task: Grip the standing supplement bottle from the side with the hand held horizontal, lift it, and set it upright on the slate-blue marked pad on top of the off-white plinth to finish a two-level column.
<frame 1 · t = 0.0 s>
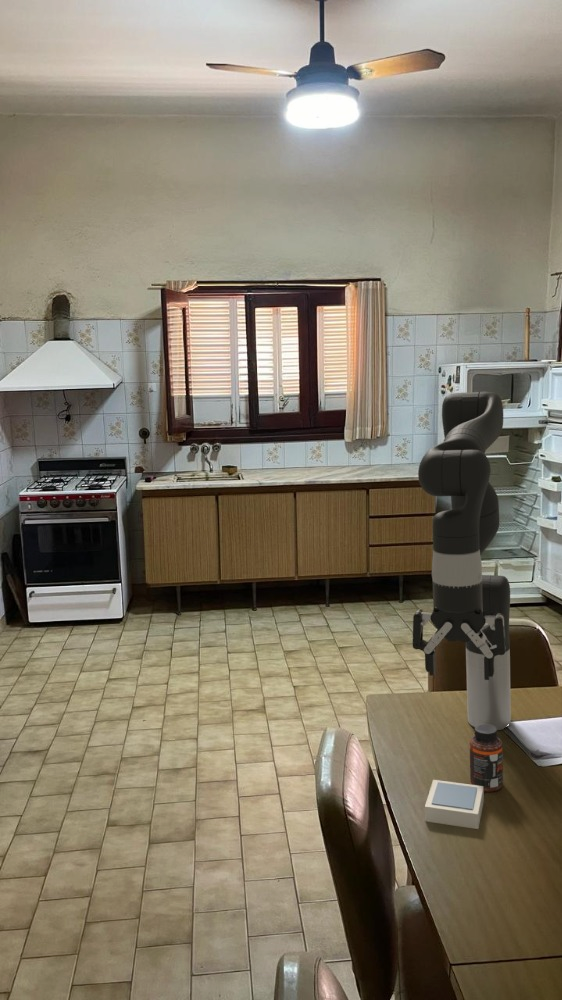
hand: (459, 676, 119), 29 cm above the table, tool pointing down, fingers open, 8 cm apart
plinth: (455, 810, 133), on the table
supplement bottle: (486, 785, 141), on the table
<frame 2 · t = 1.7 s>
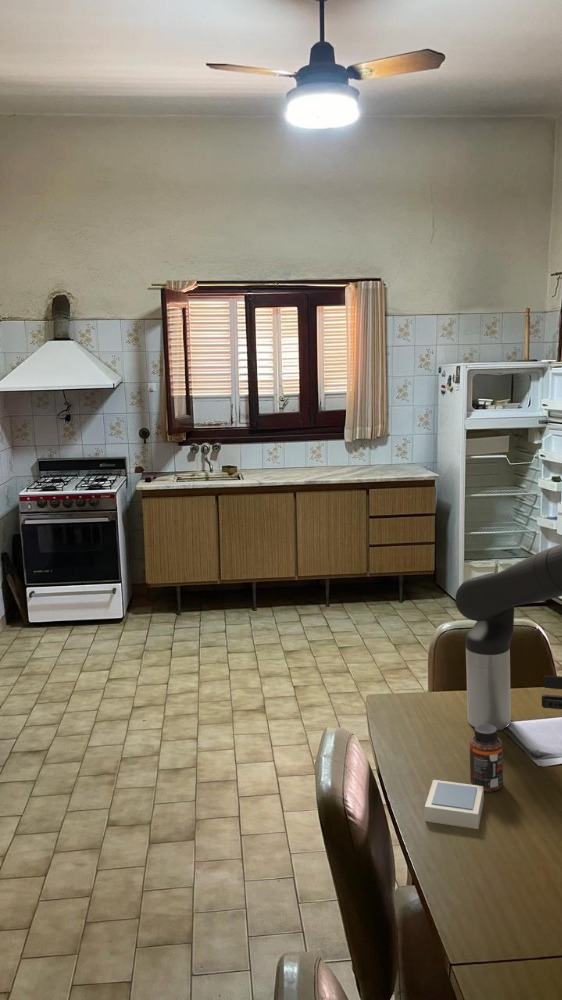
hand: (542, 690, 134), 20 cm above the table, tool horizontal, fingers open, 8 cm apart
nothing on the table moved.
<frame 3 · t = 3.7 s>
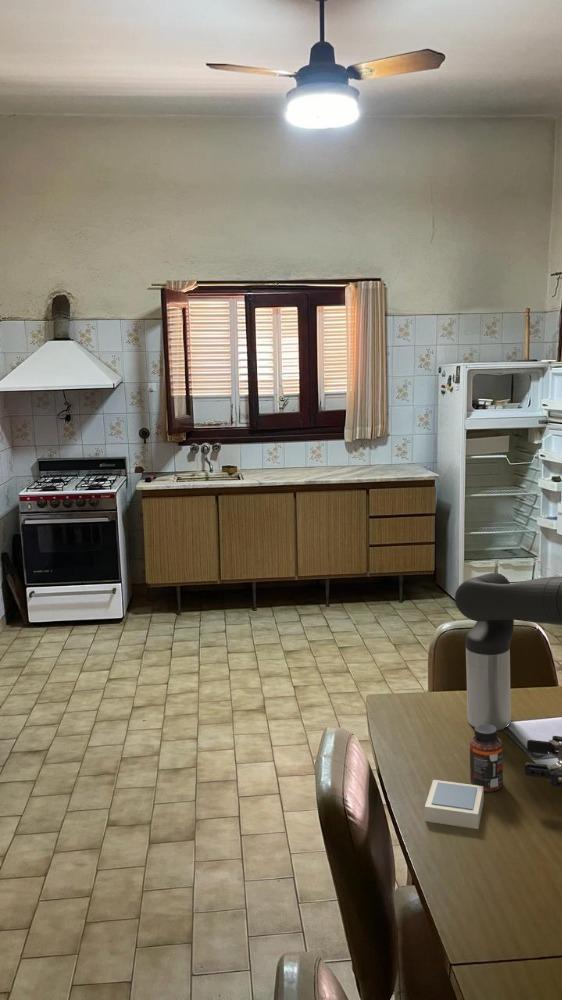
hand: (526, 756, 137), 6 cm above the table, tool horizontal, fingers open, 8 cm apart
nothing on the table moved.
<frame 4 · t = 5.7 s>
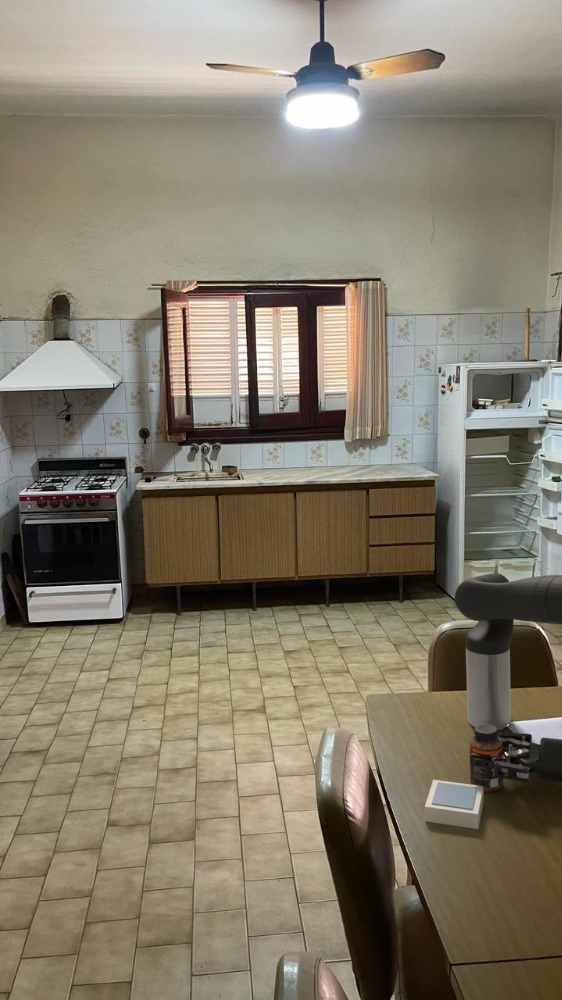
hand: (472, 750, 141), 7 cm above the table, tool horizontal, fingers closed on supplement bottle, 6 cm apart
supplement bottle: (486, 785, 141), on the table, touching gripper
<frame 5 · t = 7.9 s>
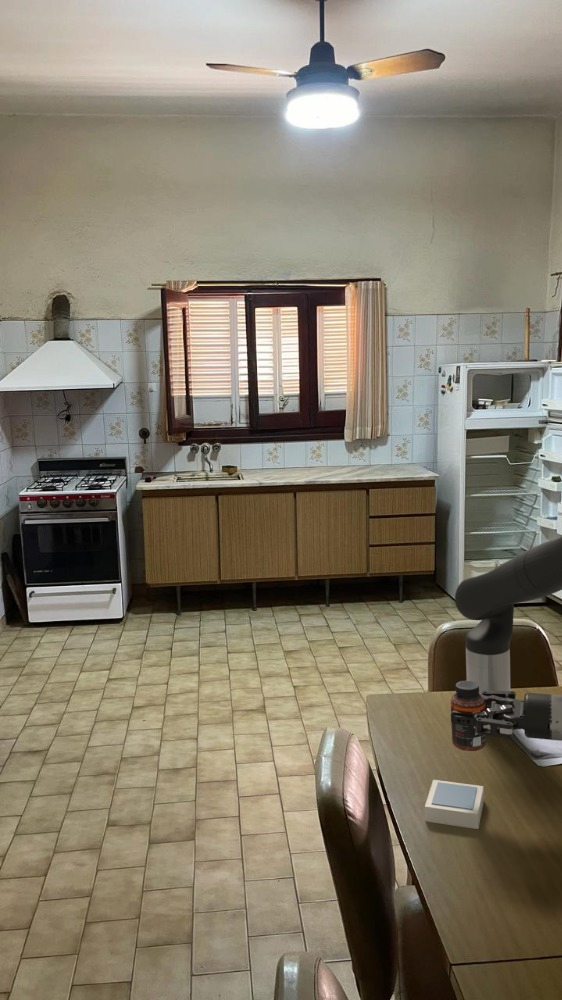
hand: (453, 709, 134), 18 cm above the table, tool horizontal, fingers closed on supplement bottle, 6 cm apart
supplement bottle: (469, 745, 134), point 11 cm above the table, touching gripper
when the fingers open (11 cm above the table, at t = 10.0 s): supplement bottle drops 1 cm, resting on plinth.
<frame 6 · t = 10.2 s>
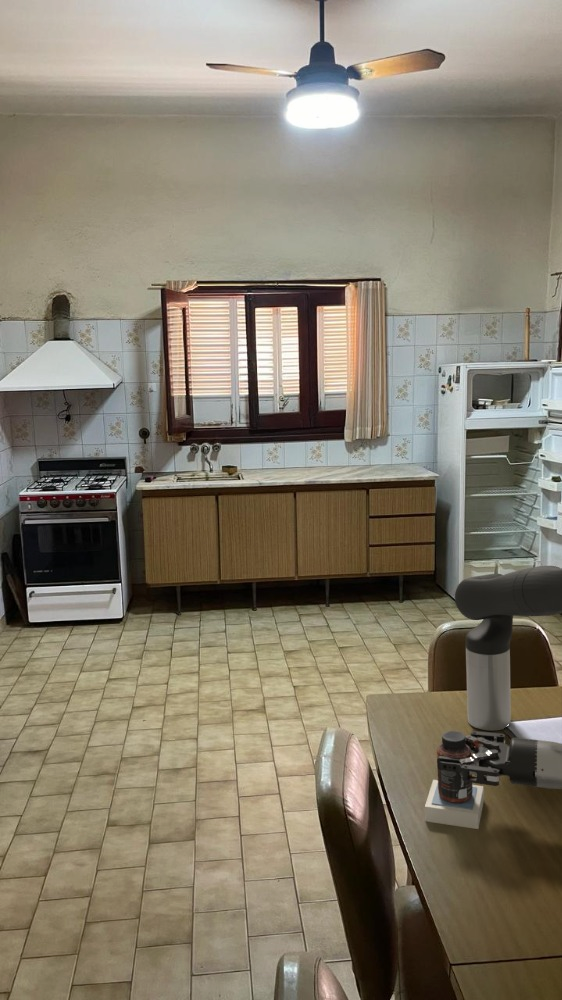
hand: (441, 751, 132), 11 cm above the table, tool horizontal, fingers open, 7 cm apart
supplement bottle: (455, 796, 133), point 3 cm above the table, touching plinth
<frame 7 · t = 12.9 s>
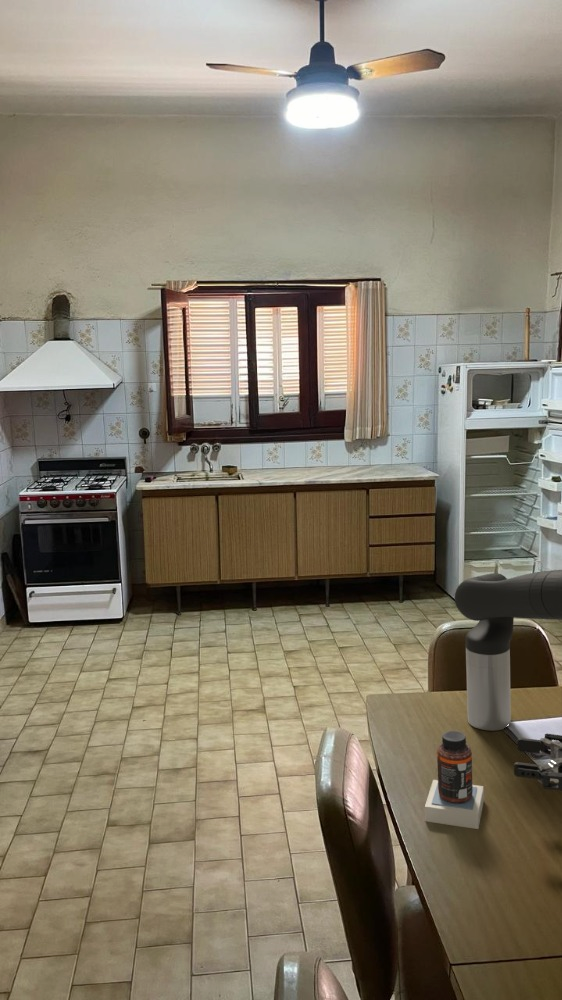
hand: (515, 756, 128), 12 cm above the table, tool horizontal, fingers open, 8 cm apart
nothing on the table moved.
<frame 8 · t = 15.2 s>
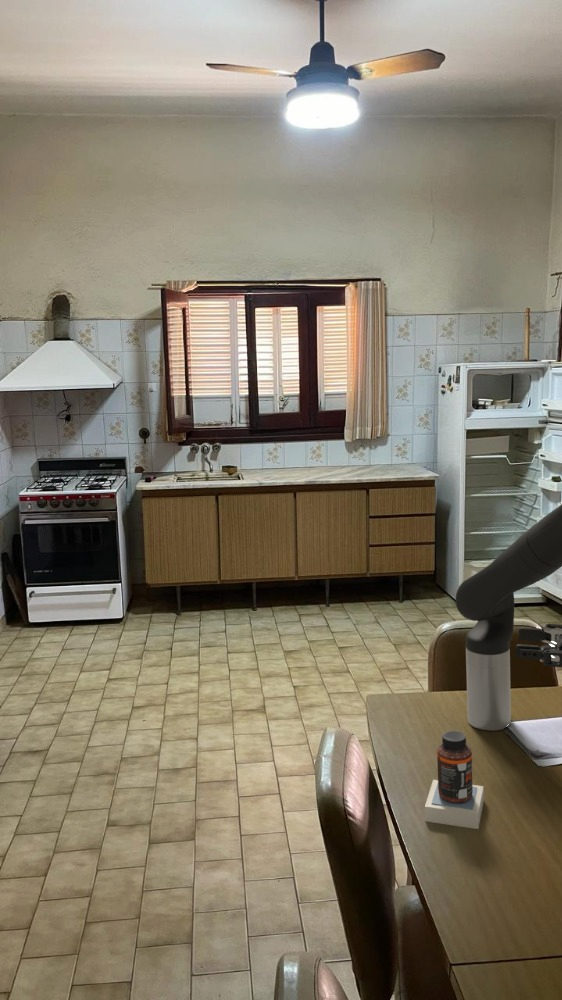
hand: (517, 642, 130), 30 cm above the table, tool horizontal, fingers open, 8 cm apart
nothing on the table moved.
at the end: supplement bottle 0.1 cm off-centre on the plinth, point 2.8 cm above the plinth's base; supplement bottle tilted 0°; the gripper is holding nothing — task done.
